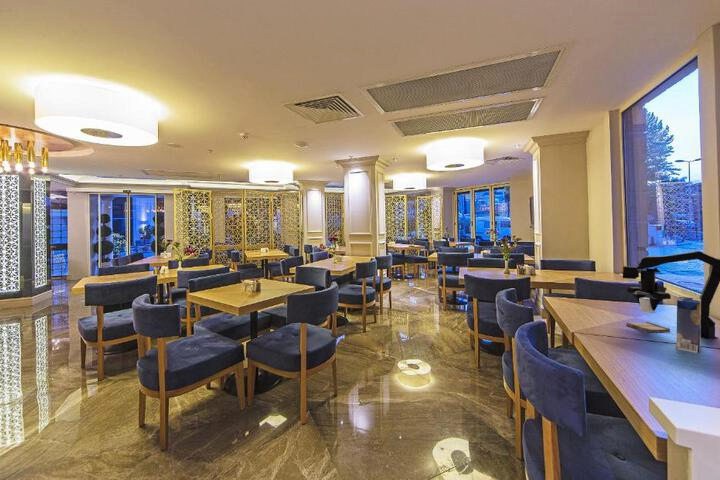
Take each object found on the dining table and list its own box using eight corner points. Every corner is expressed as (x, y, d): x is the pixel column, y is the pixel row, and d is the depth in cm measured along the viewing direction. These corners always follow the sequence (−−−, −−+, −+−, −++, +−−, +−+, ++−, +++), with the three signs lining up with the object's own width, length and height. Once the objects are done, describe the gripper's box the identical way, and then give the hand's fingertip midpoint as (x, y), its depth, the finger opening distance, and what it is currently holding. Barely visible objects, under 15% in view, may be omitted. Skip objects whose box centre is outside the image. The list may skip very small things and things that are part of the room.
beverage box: (700, 346, 138) (701, 298, 137) (699, 353, 131) (700, 303, 130) (678, 342, 143) (679, 296, 142) (676, 348, 136) (677, 300, 135)
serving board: (669, 331, 157) (669, 328, 157) (647, 332, 157) (647, 329, 157) (647, 324, 169) (647, 321, 169) (626, 325, 169) (626, 322, 169)
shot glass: (660, 313, 159) (660, 300, 158) (644, 313, 160) (644, 299, 160) (650, 309, 165) (650, 297, 165) (635, 309, 167) (635, 297, 167)
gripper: (681, 282, 153) (681, 312, 154) (645, 276, 172) (645, 303, 172) (660, 283, 153) (659, 313, 153) (626, 277, 171) (626, 304, 172)
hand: (647, 308), depth 163 cm, fingers closed on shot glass, 6 cm apart
